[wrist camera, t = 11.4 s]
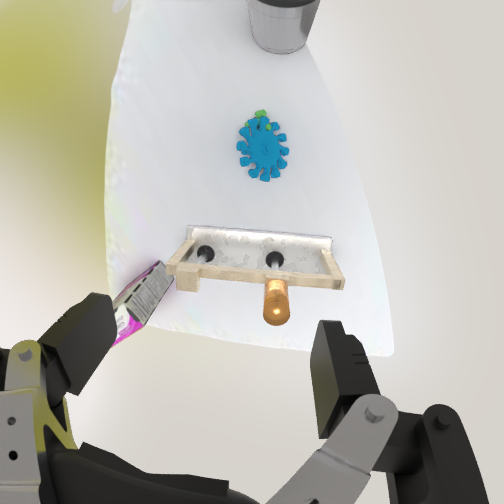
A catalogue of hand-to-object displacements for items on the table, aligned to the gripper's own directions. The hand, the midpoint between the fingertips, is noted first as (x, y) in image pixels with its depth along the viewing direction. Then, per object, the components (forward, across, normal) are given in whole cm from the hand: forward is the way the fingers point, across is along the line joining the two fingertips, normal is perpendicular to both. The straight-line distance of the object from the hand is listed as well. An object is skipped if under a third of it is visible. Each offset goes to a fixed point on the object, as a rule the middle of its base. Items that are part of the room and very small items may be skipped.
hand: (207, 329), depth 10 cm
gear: (+38, -1, -7) cm, 39 cm away
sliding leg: (+36, -4, +11) cm, 38 cm away
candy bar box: (+38, +20, +20) cm, 48 cm away
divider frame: (+38, -1, +12) cm, 40 cm away
